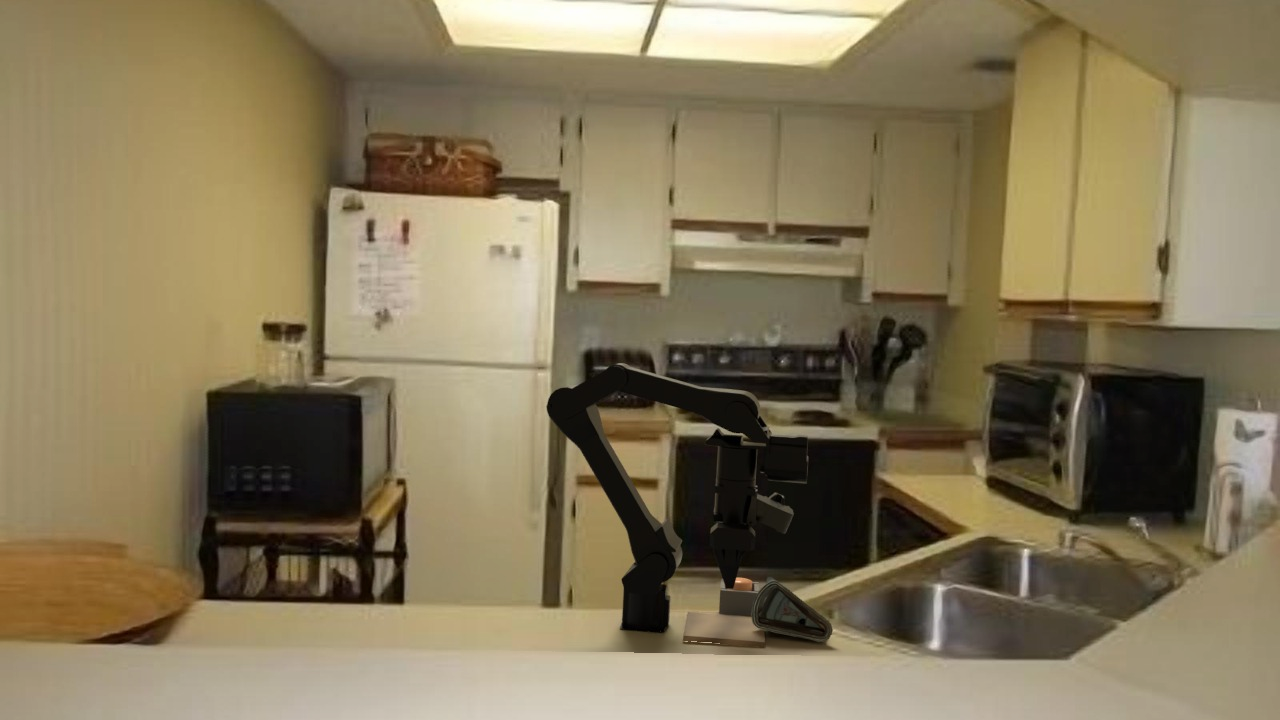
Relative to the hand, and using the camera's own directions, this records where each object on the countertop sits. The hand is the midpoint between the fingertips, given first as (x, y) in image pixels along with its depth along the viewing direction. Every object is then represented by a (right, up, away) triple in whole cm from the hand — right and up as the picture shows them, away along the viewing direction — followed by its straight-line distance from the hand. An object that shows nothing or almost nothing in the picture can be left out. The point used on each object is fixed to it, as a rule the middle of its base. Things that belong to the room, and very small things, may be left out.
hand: (729, 583), depth 143 cm
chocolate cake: (+12, -10, -1) cm, 16 cm away
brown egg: (+2, -7, +11) cm, 13 cm away
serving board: (-1, -7, 0) cm, 7 cm away
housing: (+2, -7, +11) cm, 13 cm away
